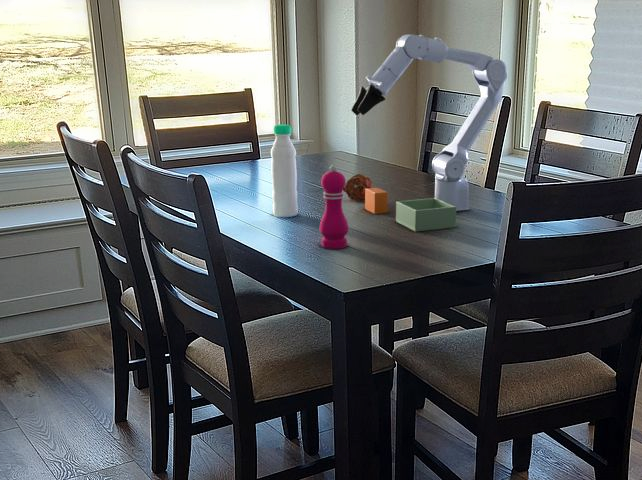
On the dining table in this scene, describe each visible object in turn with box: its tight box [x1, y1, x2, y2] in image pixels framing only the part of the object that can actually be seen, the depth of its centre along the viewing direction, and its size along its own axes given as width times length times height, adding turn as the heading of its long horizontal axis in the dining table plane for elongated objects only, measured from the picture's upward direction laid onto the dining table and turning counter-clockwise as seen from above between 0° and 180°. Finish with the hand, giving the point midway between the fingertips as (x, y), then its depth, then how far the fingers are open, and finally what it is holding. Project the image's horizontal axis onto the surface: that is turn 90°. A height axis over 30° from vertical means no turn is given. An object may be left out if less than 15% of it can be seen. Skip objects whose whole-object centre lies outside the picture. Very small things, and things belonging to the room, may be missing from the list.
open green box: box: [395, 197, 457, 232], centre depth 232 cm, size 12×12×6 cm
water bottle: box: [270, 123, 299, 218], centre depth 238 cm, size 7×7×25 cm
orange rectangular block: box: [364, 187, 388, 215], centre depth 247 cm, size 4×7×6 cm, turn 23°
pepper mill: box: [319, 164, 350, 250], centre depth 209 cm, size 7×7×20 cm
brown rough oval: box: [342, 173, 373, 202], centre depth 261 cm, size 8×8×12 cm
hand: (357, 112), depth 230 cm, fingers open, 7 cm apart
